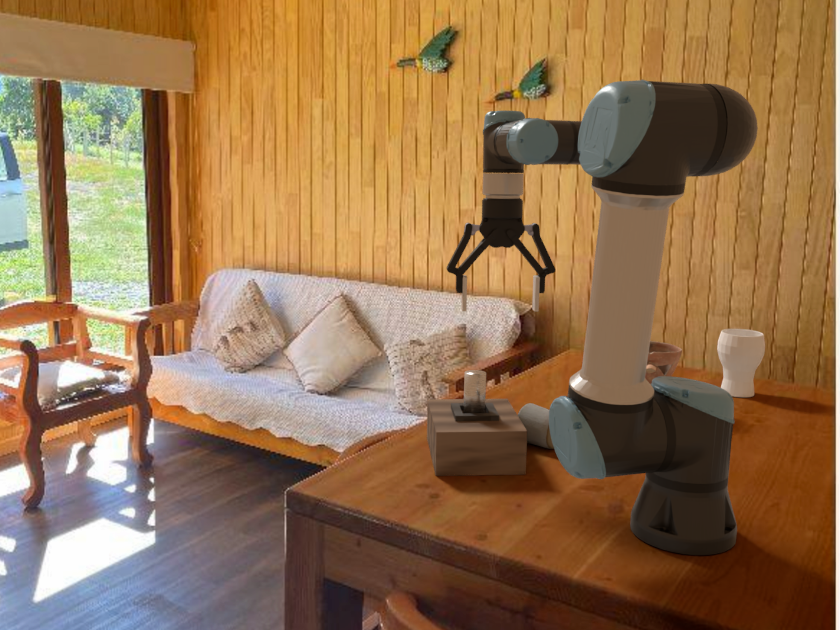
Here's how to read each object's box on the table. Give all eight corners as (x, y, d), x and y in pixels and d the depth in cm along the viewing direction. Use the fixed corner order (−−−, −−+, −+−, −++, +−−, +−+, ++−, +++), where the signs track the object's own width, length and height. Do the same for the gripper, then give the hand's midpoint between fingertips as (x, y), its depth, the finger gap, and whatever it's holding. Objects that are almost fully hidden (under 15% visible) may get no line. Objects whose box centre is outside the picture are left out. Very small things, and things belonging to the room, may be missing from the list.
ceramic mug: (548, 454, 155) (550, 415, 154) (512, 444, 160) (514, 406, 159) (577, 442, 163) (580, 404, 161) (543, 432, 168) (545, 396, 167)
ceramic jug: (681, 421, 176) (686, 356, 174) (612, 413, 181) (617, 350, 178) (683, 400, 193) (688, 341, 190) (620, 393, 197) (624, 335, 195)
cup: (708, 386, 203) (712, 327, 201) (751, 387, 203) (756, 328, 200) (721, 399, 193) (726, 336, 190) (767, 400, 193) (773, 337, 190)
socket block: (525, 474, 145) (527, 425, 143) (435, 475, 144) (436, 426, 142) (506, 437, 164) (507, 393, 163) (426, 438, 163) (427, 394, 162)
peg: (486, 420, 151) (487, 375, 149) (464, 420, 151) (465, 375, 149) (483, 413, 155) (484, 370, 153) (462, 413, 155) (463, 370, 153)
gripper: (565, 196, 155) (561, 307, 159) (434, 195, 154) (432, 306, 158) (574, 198, 148) (569, 313, 152) (436, 197, 147) (434, 313, 151)
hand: (499, 310), depth 155 cm, fingers open, 13 cm apart
